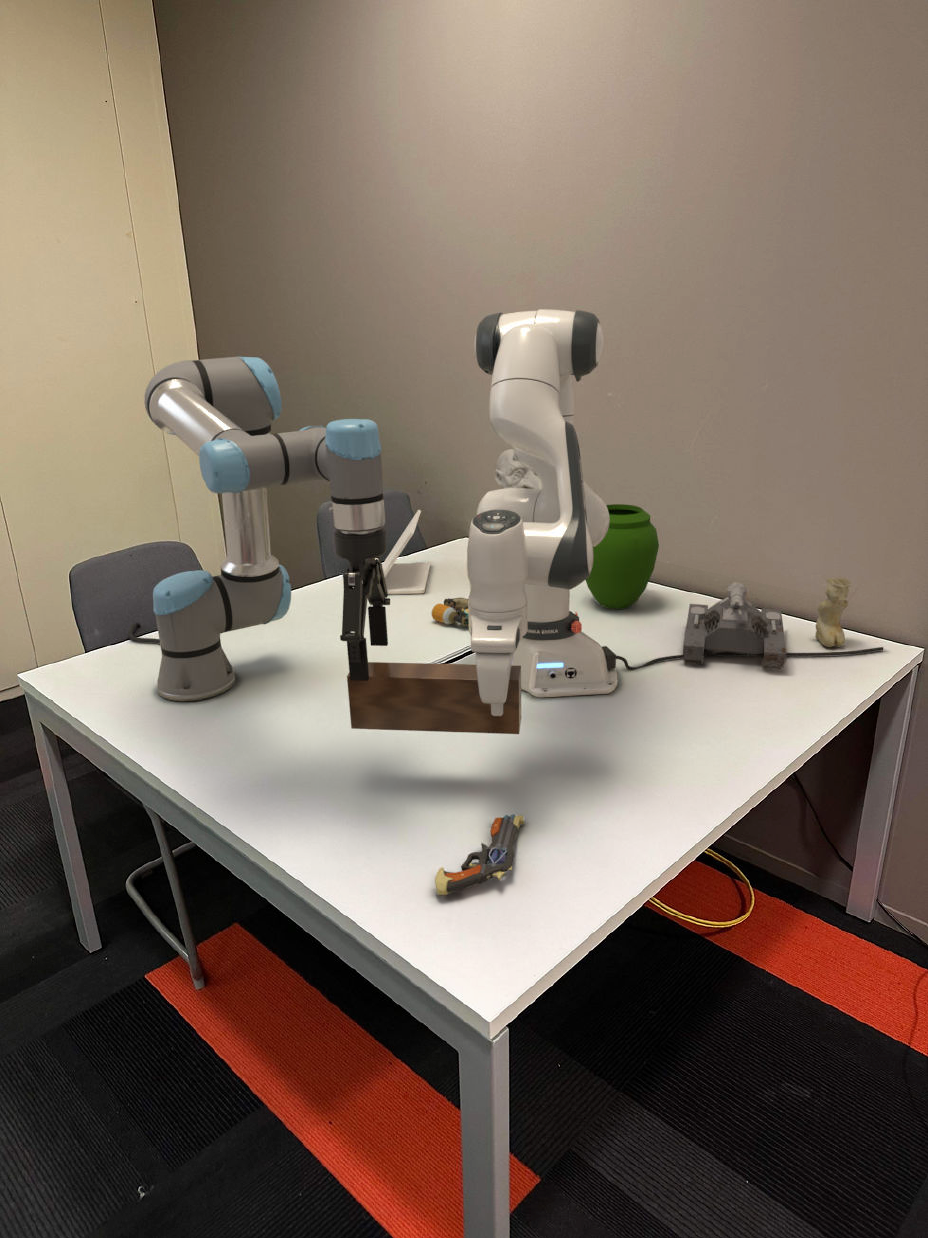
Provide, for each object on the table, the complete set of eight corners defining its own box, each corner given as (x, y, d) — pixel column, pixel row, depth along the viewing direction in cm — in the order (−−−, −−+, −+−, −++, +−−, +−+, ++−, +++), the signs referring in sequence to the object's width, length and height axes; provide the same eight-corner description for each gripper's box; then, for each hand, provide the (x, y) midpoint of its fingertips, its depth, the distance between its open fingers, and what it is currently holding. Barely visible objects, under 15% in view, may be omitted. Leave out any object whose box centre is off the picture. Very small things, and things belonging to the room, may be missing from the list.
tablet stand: (430, 565, 250) (428, 508, 244) (424, 593, 227) (421, 531, 221) (369, 566, 251) (365, 509, 245) (356, 594, 227) (352, 532, 221)
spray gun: (451, 605, 219) (505, 614, 213) (420, 623, 205) (478, 633, 199) (451, 589, 218) (506, 598, 212) (421, 606, 203) (478, 616, 197)
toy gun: (430, 883, 110) (506, 883, 108) (458, 810, 128) (523, 809, 126) (433, 901, 111) (508, 901, 109) (460, 826, 129) (525, 825, 127)
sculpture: (821, 649, 184) (830, 583, 179) (808, 637, 191) (816, 573, 185) (848, 649, 184) (858, 582, 179) (834, 636, 191) (843, 572, 185)
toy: (688, 623, 201) (692, 562, 195) (778, 630, 195) (785, 567, 190) (681, 666, 178) (686, 598, 173) (783, 675, 172) (791, 605, 167)
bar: (521, 717, 136) (521, 665, 133) (519, 734, 131) (518, 680, 128) (359, 712, 139) (355, 661, 136) (351, 728, 134) (346, 676, 131)
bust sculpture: (503, 593, 225) (502, 460, 212) (483, 567, 247) (480, 445, 234) (562, 587, 228) (563, 456, 215) (536, 562, 250) (536, 441, 237)
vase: (599, 587, 227) (601, 497, 218) (668, 600, 216) (673, 505, 208) (562, 608, 212) (564, 513, 204) (634, 623, 202) (639, 523, 193)
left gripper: (355, 508, 137) (364, 631, 144) (310, 551, 114) (324, 695, 121) (401, 508, 136) (408, 632, 143) (365, 551, 113) (376, 696, 120)
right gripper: (484, 597, 138) (485, 675, 142) (469, 646, 119) (471, 734, 124) (523, 597, 137) (523, 676, 142) (514, 647, 118) (515, 735, 123)
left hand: (370, 661), depth 132 cm, fingers open, 13 cm apart
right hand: (499, 703), depth 132 cm, fingers closed on bar, 5 cm apart
